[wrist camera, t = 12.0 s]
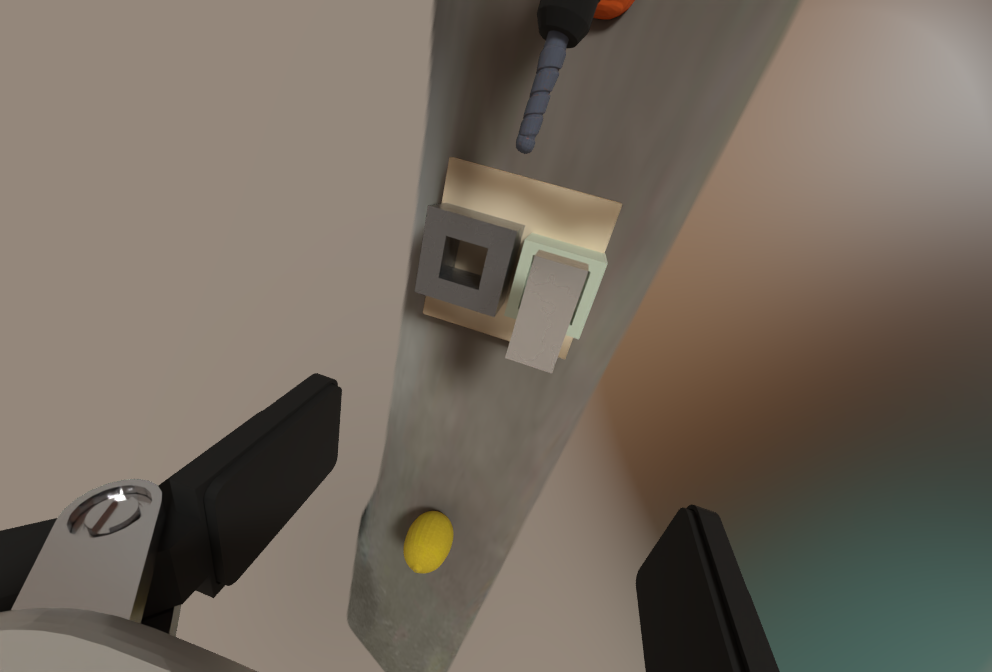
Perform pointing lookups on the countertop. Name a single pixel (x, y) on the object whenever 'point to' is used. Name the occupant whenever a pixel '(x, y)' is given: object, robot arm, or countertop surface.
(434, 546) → the lemon
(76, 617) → the robot arm
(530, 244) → the pale green hollow frame
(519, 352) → the light grey block
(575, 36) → the toy drill
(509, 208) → the board
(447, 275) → the block
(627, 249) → the countertop surface
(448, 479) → the countertop surface
